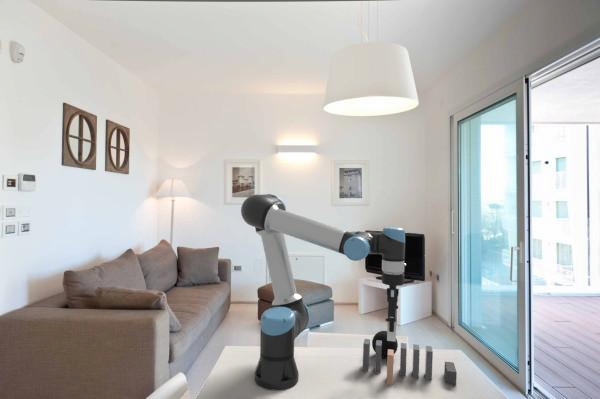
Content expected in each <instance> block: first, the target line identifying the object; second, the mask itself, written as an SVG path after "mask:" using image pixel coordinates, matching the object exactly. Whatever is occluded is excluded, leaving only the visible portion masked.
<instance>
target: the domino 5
mask: <svg viewBox="0 0 600 399" xmlns="http://www.w3.org/2000/svg"><path fill="white" fill-rule="evenodd" d="M412 346H413V347H412V369H411V372H412V378H413V379H414V378H415V379H420V345H419V344H415V343H414V344H412Z"/></svg>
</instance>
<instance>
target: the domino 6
mask: <svg viewBox="0 0 600 399" xmlns="http://www.w3.org/2000/svg"><path fill="white" fill-rule="evenodd" d="M433 353H434V351H433V347H432V346H431V345H425V358H424V359H425V361H424V362H425V365H424V377H425V380H428V381H432V380H433V358H434V355H433Z"/></svg>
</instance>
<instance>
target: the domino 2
mask: <svg viewBox="0 0 600 399" xmlns="http://www.w3.org/2000/svg"><path fill="white" fill-rule="evenodd" d="M374 353H375V352H374ZM374 356H375V358H374V359H375V360H374V362H375V363H374V373H378V374H381V373H382V372H381V371H382V358H383V357H382V341H380V340H376V353H375V355H374Z"/></svg>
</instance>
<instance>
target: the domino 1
mask: <svg viewBox="0 0 600 399" xmlns="http://www.w3.org/2000/svg"><path fill="white" fill-rule="evenodd" d="M362 347H363V348H362V349H363V350H362V372H369V370H370V369H369V368H370V358H371V357H370V356H371V355H370V354H371V353H370V352H371V348H370V347H371V339H369V338H364V340H363V346H362Z"/></svg>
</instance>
